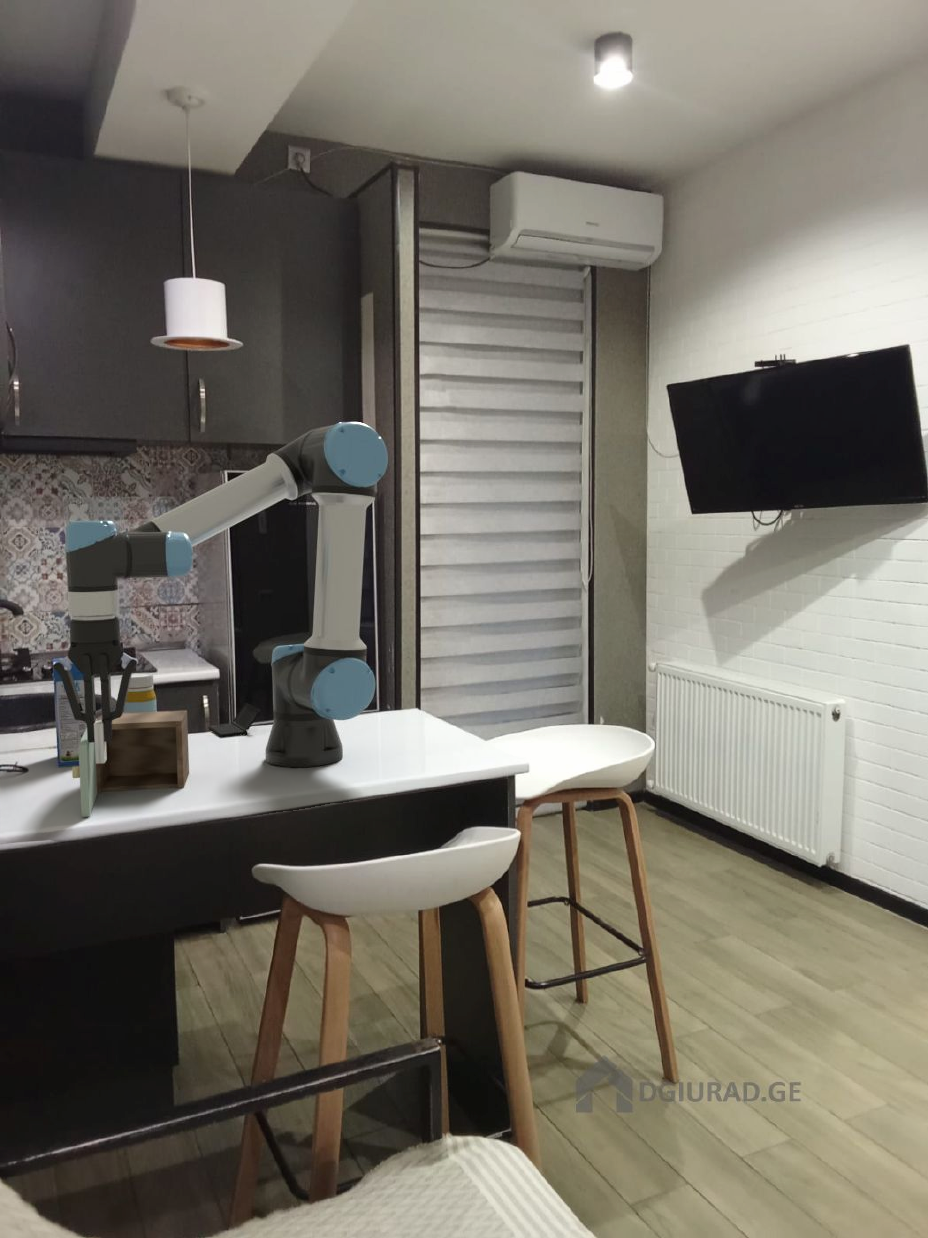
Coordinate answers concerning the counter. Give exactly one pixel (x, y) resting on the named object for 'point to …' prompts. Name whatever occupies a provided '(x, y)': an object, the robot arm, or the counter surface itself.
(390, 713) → the counter surface
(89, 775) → the cabinet door
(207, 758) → the counter surface
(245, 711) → the handheld gaming console
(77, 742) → the milk carton
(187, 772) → the walnut cabinet
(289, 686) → the robot arm
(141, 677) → the bottle
